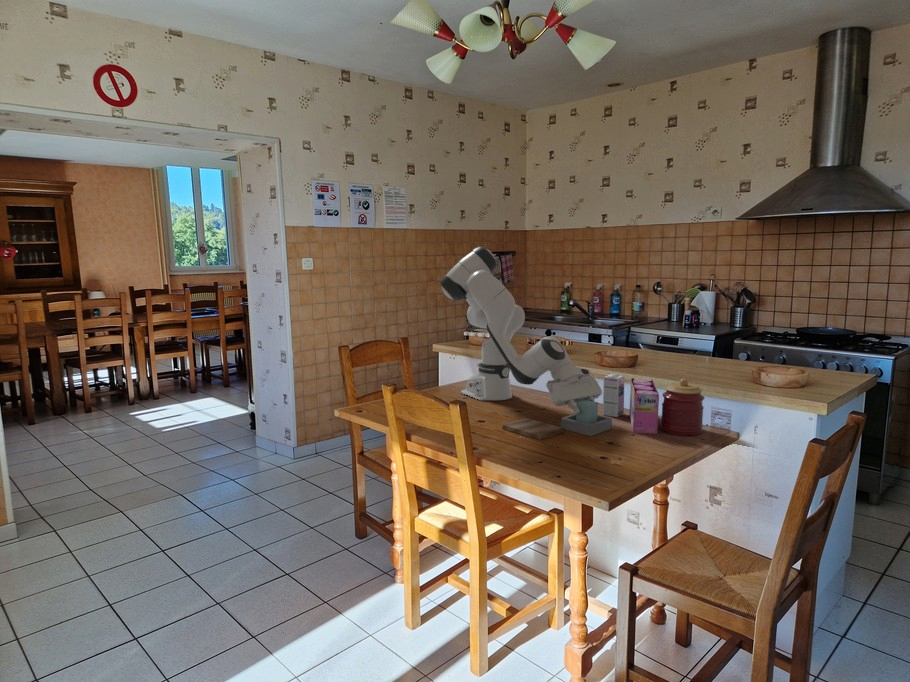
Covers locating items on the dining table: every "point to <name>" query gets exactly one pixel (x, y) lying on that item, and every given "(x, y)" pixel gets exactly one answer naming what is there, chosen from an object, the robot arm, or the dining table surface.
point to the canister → (682, 409)
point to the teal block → (587, 412)
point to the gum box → (644, 406)
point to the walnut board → (532, 428)
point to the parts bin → (586, 425)
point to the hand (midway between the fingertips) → (586, 411)
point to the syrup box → (613, 395)
